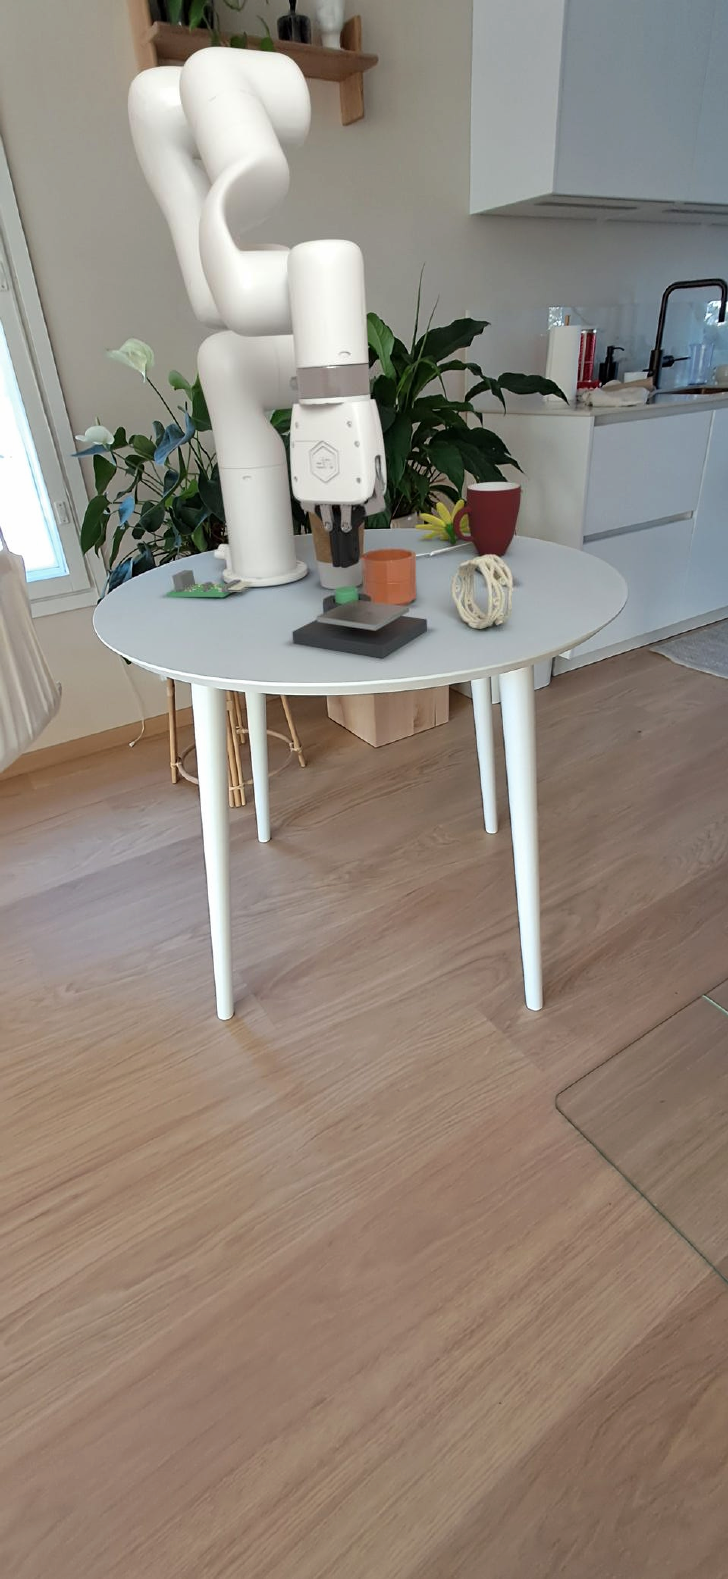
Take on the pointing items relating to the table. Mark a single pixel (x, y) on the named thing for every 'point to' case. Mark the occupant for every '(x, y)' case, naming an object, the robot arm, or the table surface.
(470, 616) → the bracelet
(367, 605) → the weighing plate
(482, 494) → the mug
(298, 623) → the table surface
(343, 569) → the coffee cup
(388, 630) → the scale
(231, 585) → the circuit board
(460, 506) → the flower
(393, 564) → the orange cup
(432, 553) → the silver knife
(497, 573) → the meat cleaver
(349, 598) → the tare button
